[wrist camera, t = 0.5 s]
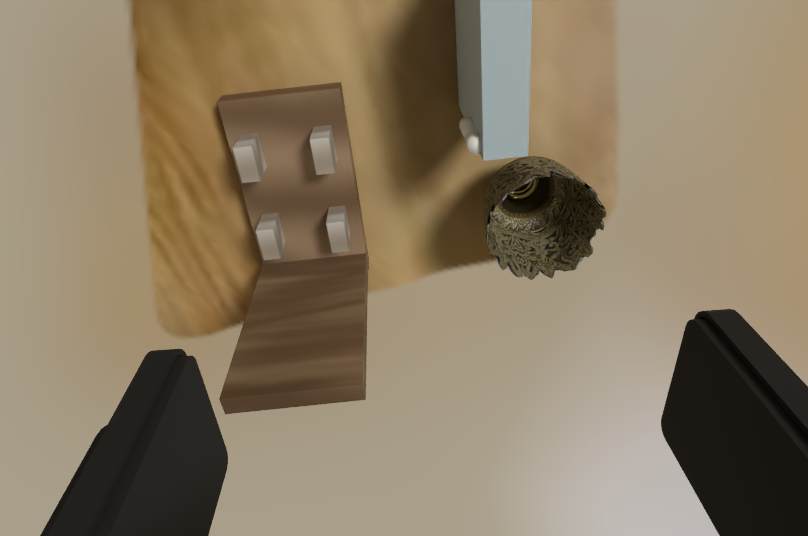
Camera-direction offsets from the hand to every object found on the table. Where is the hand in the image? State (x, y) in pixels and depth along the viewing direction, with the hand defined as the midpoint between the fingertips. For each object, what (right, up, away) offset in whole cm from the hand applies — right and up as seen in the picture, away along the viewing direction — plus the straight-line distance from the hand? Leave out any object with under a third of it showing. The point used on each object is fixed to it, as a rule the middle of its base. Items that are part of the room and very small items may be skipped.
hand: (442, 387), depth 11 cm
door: (+4, +18, +24) cm, 30 cm away
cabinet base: (-8, +9, +30) cm, 32 cm away
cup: (+8, +9, +31) cm, 33 cm away
